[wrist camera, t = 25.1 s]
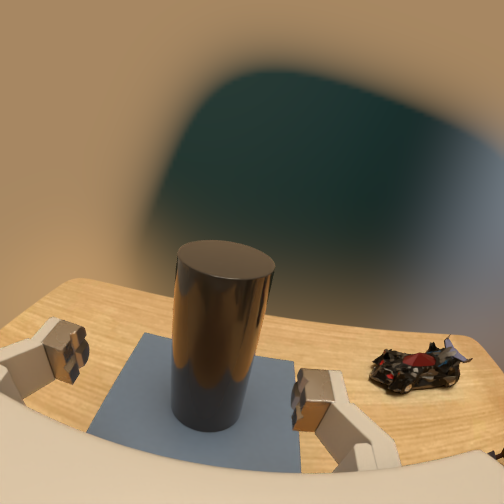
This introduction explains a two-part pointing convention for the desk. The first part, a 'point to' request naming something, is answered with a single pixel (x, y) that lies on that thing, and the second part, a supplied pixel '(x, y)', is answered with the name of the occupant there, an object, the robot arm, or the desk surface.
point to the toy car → (419, 368)
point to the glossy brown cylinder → (216, 330)
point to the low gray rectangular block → (195, 442)
